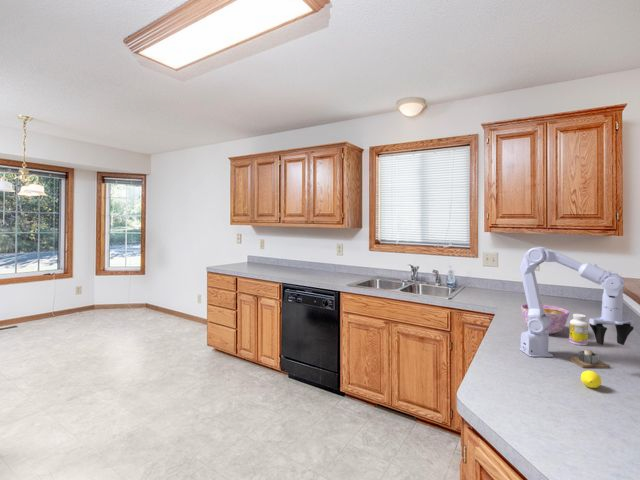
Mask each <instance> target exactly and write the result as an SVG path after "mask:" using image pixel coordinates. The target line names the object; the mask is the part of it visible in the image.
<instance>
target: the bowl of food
mask: <svg viewBox="0 0 640 480" xmlns="http://www.w3.org/2000/svg"><path fill="white" fill-rule="evenodd" d="M542 307H543V309H544V311H545V314H546V316H547V317H548V318H549V320H550V325H549V327H548V328H547V330H548V332H549V335H553V334H557V333H559V332H561V331H562V330H563V329H564V328H565V327H566V324H567V321H568V319H569V315H570V311H569V310H568V309H565V308H563V307H559V306H555V305H548V304H542ZM520 308H521V309H520V310H521V312H522V317H523V321H524V324H525V325H526V326H527V323H528V311H529V309H528V304H527V303H526V304H523V305H521V306H520Z"/></svg>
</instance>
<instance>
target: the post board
mask: <svg viewBox="0 0 640 480" xmlns="http://www.w3.org/2000/svg"><path fill="white" fill-rule="evenodd" d="M583 351H584V354H586V355H590V356H592V352H593V350H590V349H584V350H583ZM566 359H567V360H568V361H570V362H571V363H573V364H575V365H577V366H579V367H580V368H583V369H610V368H611V367H610V365H609V364H607V363H606V362H604V361H602V360H600V359H598V364H588V363H584V362H582V361H580V360H579V356H567V357H566Z"/></svg>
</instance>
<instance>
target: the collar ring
mask: <svg viewBox="0 0 640 480" xmlns="http://www.w3.org/2000/svg"><path fill="white" fill-rule="evenodd" d="M578 357H579V360H580V361H582V362H584V363H588V364H598V360H599V353H596V352H594V351H592V356H590V355H586V354H584V350H579V352H578Z"/></svg>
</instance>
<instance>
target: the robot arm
mask: <svg viewBox="0 0 640 480" xmlns="http://www.w3.org/2000/svg"><path fill="white" fill-rule="evenodd" d="M544 262H545V263H552V262H553V263H558V264H560V265H562V266H565V267H566V268H569V269H571V270H574V271H577V272H578V274H579V276H580V277H581V278H583V279H587V280H588V281H590V282H592V283H595V284H597V285H598V286H599V285H602V287H603V293H602V295H601V297H602V298H601V301H602V302H601V315H600V317H599V316H598V317H592V318H591V317H590V318H589V322H588V324H589V327H590V328H591V330H592V332H593V335H594V337H595V341H596V343H597V344H598V345H601V346H602V345H604V342H605V335H606V332H607V330H608V328H607V327H606V326H605V325H607V326H608V325H614V327H615V331H616V342H617V344H619V345H621V346H625V343H626V341H627V339H628V337H629V335H630V334H631V332H633V331H634V325H635V324H634V319H632V318H624V317H623V308H624V290H623V289H624V286H625V280H624V278H623V277H622V276H621V275H620V274H618V273H617V272H612V271H611V270H606V269H604V268H601V267H599V266H598V265H597V264H596V263H594V262H593V263H590V262H588V263H581V262H579V261H577V260H575V259H574V258H571V257H569V256H567V255H565V254H562V253H561V252H558V251H556V250H553V249H550V248H547V247H545V246H536V247H532V248H530V249H529V250H527V251H526V252H525V253H524V254H523V259H522V261H521V263H520V266H519V272H520V277H521V280H522V285H523V290H524V295H525V298H526V304H528V309H529V311H528V323H527V325H526V326H527V330H526V331H523V332H521V334H520V345H519V346H520V348H518V350H519V351H521V352H522V353H524V354H526V355H527V356H529V357H537V358H538V357H541V358H542V357H545V358H548V357H552V358H553V357H554V355H553V354H552V353H549V337H550V334H549V332H548V330H547V328H548V327H549V325H550V320H549V318H548V317H547V316H546V314H545V311H544V309H543V307H542V305H543V304H542V299H541V295H540V290H539V286H538V281H537V276H536V273H535V270H536V269H537V268H538V267H539V265H541V264H542V263H544Z"/></svg>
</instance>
